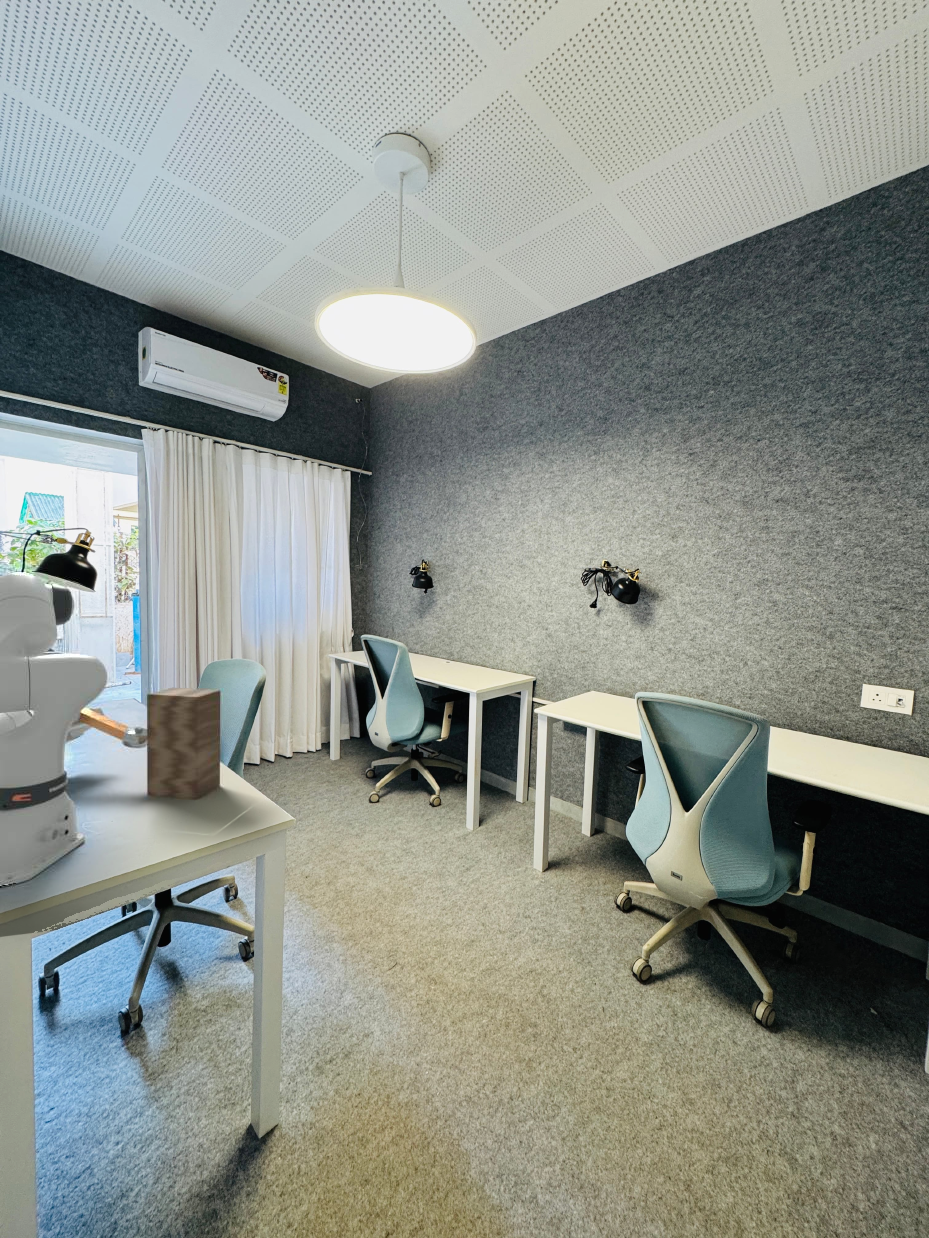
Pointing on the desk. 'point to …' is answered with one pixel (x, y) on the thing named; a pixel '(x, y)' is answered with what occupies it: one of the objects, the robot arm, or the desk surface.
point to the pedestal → (183, 742)
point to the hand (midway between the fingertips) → (86, 712)
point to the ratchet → (116, 729)
